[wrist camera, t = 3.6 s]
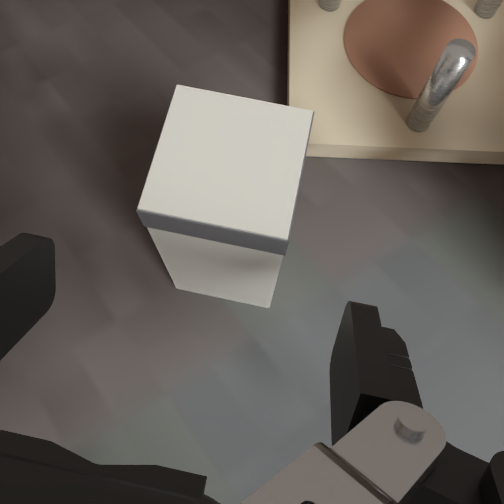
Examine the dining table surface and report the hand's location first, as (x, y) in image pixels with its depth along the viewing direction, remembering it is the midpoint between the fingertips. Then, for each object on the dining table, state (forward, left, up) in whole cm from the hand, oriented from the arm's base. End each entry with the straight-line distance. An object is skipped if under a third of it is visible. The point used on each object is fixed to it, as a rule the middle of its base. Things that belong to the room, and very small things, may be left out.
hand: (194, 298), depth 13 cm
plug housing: (-1, -4, -9) cm, 10 cm away
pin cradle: (-10, -16, -9) cm, 21 cm away
